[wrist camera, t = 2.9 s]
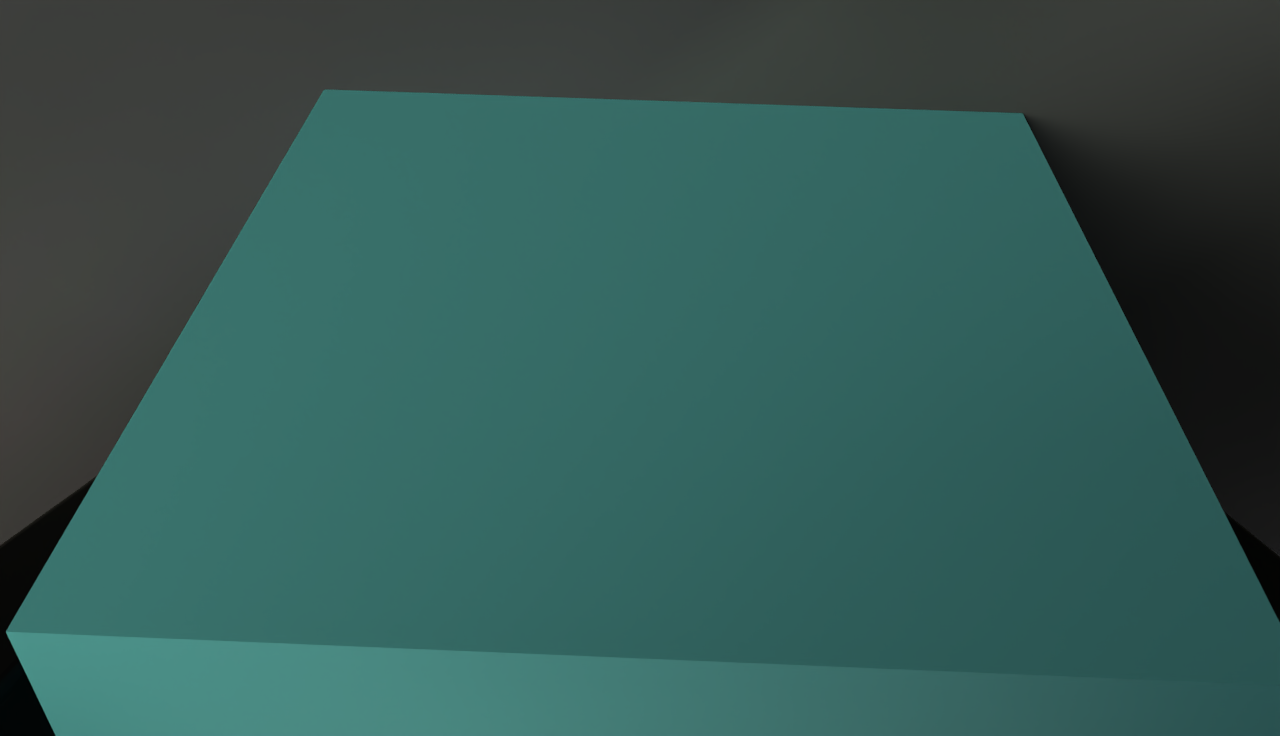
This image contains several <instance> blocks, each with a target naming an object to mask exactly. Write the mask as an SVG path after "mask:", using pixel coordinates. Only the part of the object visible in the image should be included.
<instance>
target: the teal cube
mask: <svg viewBox="0 0 1280 736" xmlns="http://www.w3.org/2000/svg"><path fill="white" fill-rule="evenodd" d="M6 633H7V635H8V638H9V640H10V642H11V644H12V646H13V648H14V650H15V652H16V654H17V656H18V658H19V660H20V663H21V665H22V667H23V669H24V671H25V673H26V675H27V677H28V679H29V681H30V683H31V685H32V687H33V690H34V692H35V694H36V696H37V698H38V700H39V702H40V704H41V706H42V708H43V710H44V712H45V715H46V717H47V719H48V721H49V723H50V725H51V727H52V729H53V731H54V733H55V735H56V736H1280V622H1279V620H1278V618H1277V616H1276V614H1275V612H1274V610H1273V608H1272V606H1271V604H1270V603H1269V601H1268V599H1267V597H1266V595H1265V593H1264V591H1263V589H1262V587H1261V585H1260V583H1259V581H1258V579H1257V577H1256V575H1255V573H1254V571H1253V569H1252V567H1251V565H1250V563H1249V561H1248V559H1247V557H1246V555H1245V553H1244V551H1243V549H1242V547H1241V545H1240V543H1239V541H1238V539H1237V537H1236V535H1235V533H1234V531H1233V529H1232V527H1231V525H1230V523H1229V521H1228V519H1227V517H1226V515H1225V513H1224V511H1223V509H1222V507H1221V505H1220V503H1219V501H1218V499H1217V497H1216V495H1215V493H1214V492H1213V490H1212V488H1211V486H1210V484H1209V482H1208V480H1207V478H1206V476H1205V474H1204V472H1203V470H1202V468H1201V466H1200V464H1199V462H1198V460H1197V458H1196V456H1195V454H1194V452H1193V450H1192V448H1191V446H1190V444H1189V442H1188V440H1187V438H1186V436H1185V434H1184V432H1183V430H1182V428H1181V426H1180V424H1179V422H1178V420H1177V418H1176V416H1175V414H1174V412H1173V410H1172V408H1171V406H1170V404H1169V402H1168V400H1167V398H1166V396H1165V394H1164V392H1163V390H1162V388H1161V386H1160V384H1159V383H1158V381H1157V379H1156V377H1155V375H1154V373H1153V371H1152V369H1151V367H1150V365H1149V363H1148V361H1147V359H1146V357H1145V355H1144V353H1143V351H1142V349H1141V347H1140V345H1139V343H1138V341H1137V339H1136V337H1135V335H1134V333H1133V331H1132V329H1131V327H1130V325H1129V323H1128V321H1127V319H1126V317H1125V315H1124V313H1123V311H1122V309H1121V307H1120V305H1119V303H1118V301H1117V299H1116V297H1115V295H1114V293H1113V291H1112V289H1111V287H1110V285H1109V283H1108V281H1107V279H1106V277H1105V275H1104V273H1103V272H1102V270H1101V268H1100V266H1099V264H1098V262H1097V260H1096V258H1095V256H1094V254H1093V252H1092V250H1091V248H1090V246H1089V244H1088V242H1087V240H1086V238H1085V236H1084V234H1083V232H1082V230H1081V228H1080V226H1079V224H1078V222H1077V220H1076V218H1075V216H1074V214H1073V212H1072V210H1071V208H1070V206H1069V204H1068V202H1067V200H1066V198H1065V196H1064V194H1063V192H1062V190H1061V188H1060V186H1059V184H1058V182H1057V180H1056V178H1055V176H1054V174H1053V172H1052V170H1051V168H1050V166H1049V164H1048V162H1047V161H1046V159H1045V157H1044V155H1043V153H1042V151H1041V149H1040V147H1039V145H1038V143H1037V141H1036V139H1035V137H1034V135H1033V133H1032V131H1031V129H1030V127H1029V125H1028V123H1027V121H1026V119H1025V117H1024V115H1023V113H999V112H970V111H940V110H911V109H881V108H852V107H823V106H793V105H764V104H734V103H705V102H675V101H646V100H616V99H587V98H557V97H528V96H498V95H469V94H440V93H410V92H381V91H351V90H324V91H323V92H322V94H321V96H320V97H319V99H318V101H317V103H316V104H315V106H314V108H313V109H312V111H311V113H310V114H309V116H308V118H307V120H306V121H305V123H304V125H303V126H302V128H301V130H300V131H299V133H298V135H297V137H296V138H295V140H294V142H293V143H292V145H291V147H290V149H289V150H288V152H287V154H286V155H285V157H284V159H283V160H282V162H281V164H280V166H279V167H278V169H277V171H276V172H275V174H274V176H273V177H272V179H271V181H270V183H269V184H268V186H267V188H266V189H265V191H264V193H263V195H262V196H261V198H260V200H259V201H258V203H257V205H256V206H255V208H254V210H253V212H252V213H251V215H250V217H249V218H248V220H247V222H246V223H245V225H244V227H243V229H242V230H241V232H240V234H239V235H238V237H237V239H236V240H235V242H234V244H233V246H232V247H231V249H230V251H229V252H228V254H227V256H226V258H225V259H224V261H223V263H222V264H221V266H220V268H219V269H218V271H217V273H216V275H215V276H214V278H213V280H212V281H211V283H210V285H209V286H208V288H207V290H206V292H205V293H204V295H203V297H202V298H201V300H200V302H199V303H198V305H197V307H196V309H195V310H194V312H193V314H192V315H191V317H190V319H189V321H188V322H187V324H186V326H185V327H184V329H183V331H182V332H181V334H180V336H179V338H178V339H177V341H176V343H175V344H174V346H173V348H172V349H171V351H170V353H169V355H168V356H167V358H166V360H165V361H164V363H163V365H162V367H161V368H160V370H159V372H158V373H157V375H156V377H155V378H154V380H153V382H152V384H151V385H150V387H149V389H148V390H147V392H146V394H145V395H144V397H143V399H142V401H141V402H140V404H139V406H138V407H137V409H136V411H135V412H134V414H133V416H132V418H131V419H130V421H129V423H128V424H127V426H126V428H125V430H124V431H123V433H122V435H121V436H120V438H119V440H118V441H117V443H116V445H115V447H114V448H113V450H112V452H111V453H110V455H109V457H108V458H107V460H106V462H105V464H104V465H103V467H102V469H101V470H100V472H99V474H98V475H97V477H96V479H95V481H94V482H93V484H92V486H91V487H90V489H89V491H88V493H87V494H86V496H85V498H84V499H83V501H82V503H81V504H80V506H79V508H78V510H77V511H76V513H75V515H74V516H73V518H72V520H71V521H70V523H69V525H68V527H67V528H66V530H65V532H64V533H63V535H62V537H61V539H60V540H59V542H58V544H57V545H56V547H55V549H54V550H53V552H52V554H51V556H50V557H49V559H48V561H47V562H46V564H45V566H44V567H43V569H42V571H41V573H40V574H39V576H38V578H37V579H36V581H35V583H34V584H33V586H32V588H31V590H30V591H29V593H28V595H27V596H26V598H25V600H24V602H23V603H22V605H21V607H20V608H19V610H18V612H17V613H16V615H15V617H14V619H13V620H12V622H11V624H10V625H9V627H8V629H7V630H6Z"/></svg>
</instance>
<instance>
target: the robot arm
mask: <svg viewBox="0 0 1280 736" xmlns="http://www.w3.org/2000/svg"><path fill="white" fill-rule="evenodd" d="M96 477H97V476H96ZM96 477H95V478H93V479H92V480H91V481H89V482H88V483H86V484H85V485H84V486H82V487H81V488H79V489H78V490H77V491H75V492H74V493H72V494H71V495H70V496H68V497H67V498H65V499H64V500H63V501H61V502H60V503H59V504H57V505H56V506H54V507H53V508H52V509H50V510H49V511H47V512H46V513H45V514H43V515H42V516H40V517H39V518H38V519H36V520H35V521H34V522H32V523H31V524H29V525H28V526H27V527H25V528H24V529H22V530H21V531H20V532H18V533H17V534H15V535H14V536H13V537H11V538H10V539H9V540H7V541H6V542H4V543H3V544H2V545H0V736H56V735H55V733H54V731H53V729H52V727H51V725H50V723H49V721H48V719H47V717H46V715H45V712H44V710H43V708H42V706H41V704H40V702H39V700H38V698H37V696H36V694H35V692H34V690H33V687H32V685H31V683H30V681H29V679H28V677H27V675H26V673H25V671H24V669H23V667H22V665H21V663H20V660H19V658H18V656H17V654H16V652H15V650H14V648H13V646H12V644H11V642H10V640H9V638H8V635H7V633H6V630H7V629H8V627H9V625H10V624H11V622H12V620H13V619H14V617H15V615H16V613H17V612H18V610H19V608H20V607H21V605H22V603H23V602H24V600H25V598H26V596H27V595H28V593H29V591H30V590H31V588H32V586H33V584H34V583H35V581H36V579H37V578H38V576H39V574H40V573H41V571H42V569H43V567H44V566H45V564H46V562H47V561H48V559H49V557H50V556H51V554H52V552H53V550H54V549H55V547H56V545H57V544H58V542H59V540H60V539H61V537H62V535H63V533H64V532H65V530H66V528H67V527H68V525H69V523H70V521H71V520H72V518H73V516H74V515H75V513H76V511H77V510H78V508H79V506H80V504H81V503H82V501H83V499H84V498H85V496H86V494H87V493H88V491H89V489H90V487H91V486H92V484H93V482H94V481H95V479H96ZM1224 513H1225V512H1224ZM1225 515H1226V517H1227V519H1228V521H1229V523H1230V525H1231V527H1232V529H1233V531H1234V533H1235V535H1236V537H1237V539H1238V541H1239V543H1240V545H1241V547H1242V549H1243V551H1244V553H1245V555H1246V557H1247V559H1248V561H1249V563H1250V565H1251V567H1252V569H1253V571H1254V573H1255V575H1256V577H1257V579H1258V581H1259V583H1260V585H1261V587H1262V589H1263V591H1264V593H1265V595H1266V597H1267V599H1268V601H1269V603H1270V604H1271V606H1272V608H1273V610H1274V612H1275V614H1276V616H1277V618H1278V620H1279V622H1280V557H1279V556H1278V555H1277V554H1276V553H1274V552H1273V551H1272V550H1271V549H1269V548H1268V547H1267V546H1266V545H1265V544H1263V543H1262V542H1261V541H1260V540H1258V539H1257V538H1256V537H1255V536H1254V535H1252V534H1251V533H1250V532H1249V531H1247V530H1246V529H1245V528H1244V527H1242V526H1241V525H1240V524H1239V523H1238V522H1236V521H1235V520H1234V519H1233V518H1231V517H1230V516H1229V515H1228V514H1227V513H1225Z"/></svg>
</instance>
